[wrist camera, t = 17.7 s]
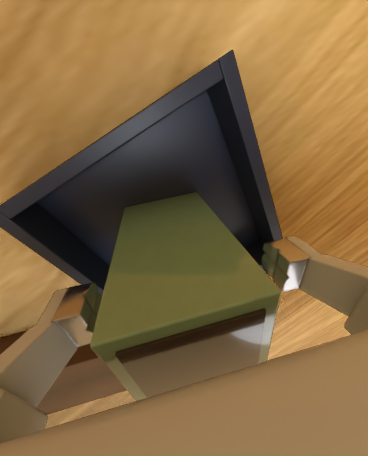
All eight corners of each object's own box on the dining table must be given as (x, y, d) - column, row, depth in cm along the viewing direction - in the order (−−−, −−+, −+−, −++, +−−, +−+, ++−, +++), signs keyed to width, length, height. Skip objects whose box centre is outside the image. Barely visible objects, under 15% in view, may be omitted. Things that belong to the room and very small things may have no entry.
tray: (209, 70, 10) (233, 48, 7) (264, 236, 17) (287, 256, 14) (22, 195, 11) (-17, 216, 8) (146, 301, 18) (147, 332, 15)
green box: (225, 327, 14) (344, 459, 4) (160, 346, 13) (109, 553, 3) (192, 210, 16) (216, 111, 6) (136, 222, 15) (67, 137, 6)
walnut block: (139, 342, 21) (138, 386, 17) (34, 372, 20) (9, 426, 16) (121, 306, 17) (115, 353, 14) (-9, 340, 16) (-54, 400, 13)
